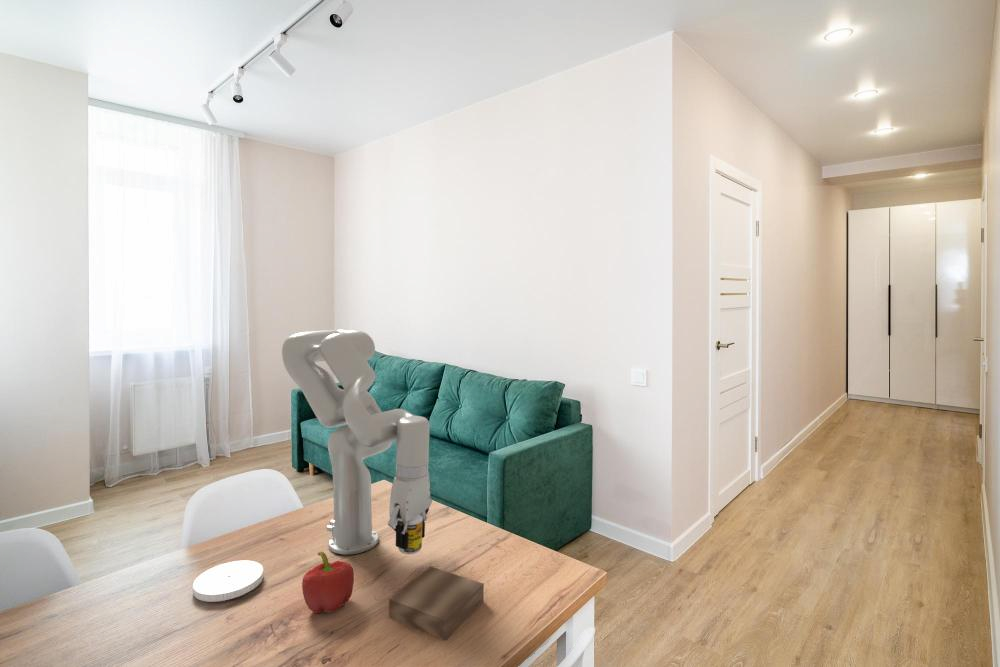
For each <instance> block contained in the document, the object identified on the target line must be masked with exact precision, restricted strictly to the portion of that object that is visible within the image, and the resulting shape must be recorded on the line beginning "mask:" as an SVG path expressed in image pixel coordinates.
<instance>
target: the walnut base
mask: <svg viewBox="0 0 1000 667" xmlns="http://www.w3.org/2000/svg"><path fill="white" fill-rule="evenodd" d="M484 586H485V585H484V583H482V582H480V581H477V580H473V579H471V578H467V577H465V576H461V575H458V574H455V573H453V572H449V571H445V570H443V569H439V568H436V567H434V566H429V567H428V568H426V569H425V570H424V571H423V572H421V573H420V574H419V575H417V576H416V577H415V578H414V579H412V580H410V582H408V583H407V584H406V585H405V586H404V587H402V588H401V589H399V590H398V591H397V592H396V593H394V594H392V595H391V596H390V597H389V598H388V617H389V618H390V619H391V620H393V621H397V622H399V623H402V624H404V625H406V626H409V627H411V628H413V629H416V630H418V631H421V632H424V633H426V634H428V635H430V636H433V637H436V638H438V639H441V640H442V641H447V640H448V639H449V637H451V636H452V635H453V634H454V633H455V631H457V629H458V628H459V627H461V626H462V625H463V623H464V622H465V621H466V620H467V619H468V618H470V616H471V615H472V614H473V613H474V612H475V611H476V610H477V609H478V608H479V607H480V606H481V604H483V603H484V598H485V596H484V594H485V592H484V590H485V589H484V588H485V587H484Z"/></svg>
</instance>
